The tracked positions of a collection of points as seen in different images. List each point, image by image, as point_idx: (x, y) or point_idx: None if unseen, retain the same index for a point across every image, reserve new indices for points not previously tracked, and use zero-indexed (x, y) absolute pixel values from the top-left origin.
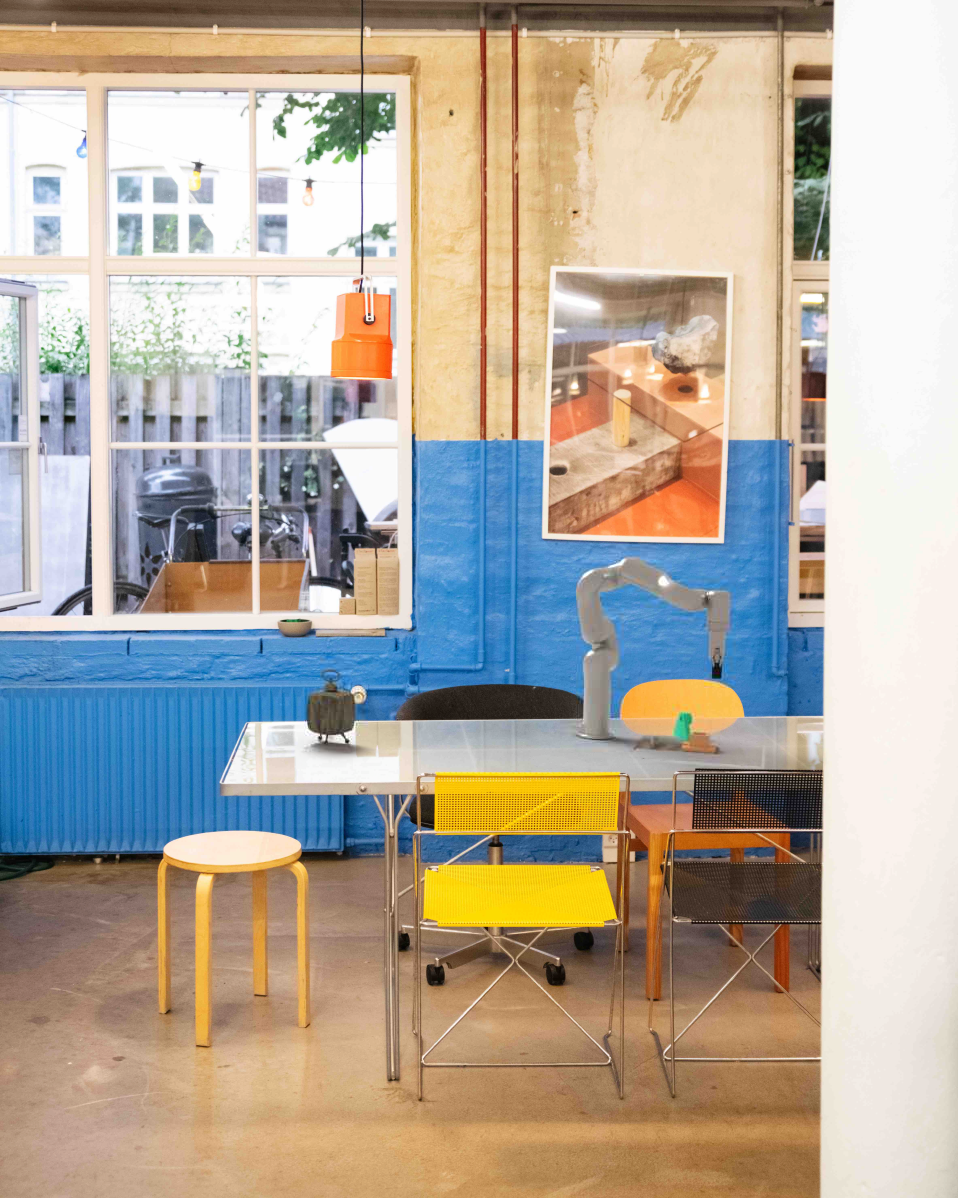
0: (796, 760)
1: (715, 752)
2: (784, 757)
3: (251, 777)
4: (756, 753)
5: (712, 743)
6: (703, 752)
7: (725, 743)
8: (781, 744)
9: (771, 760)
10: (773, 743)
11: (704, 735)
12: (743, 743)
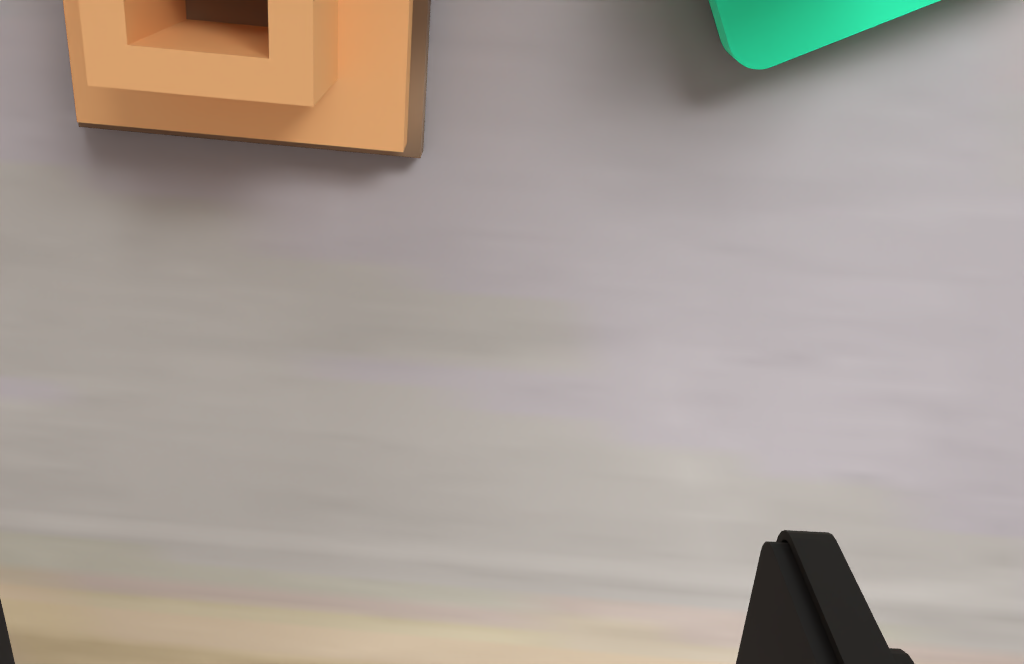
0: (229, 652)
1: None
2: (304, 599)
3: None
4: (384, 442)
5: (399, 112)
6: None
7: (770, 236)
8: None
9: (152, 515)
10: None
11: (99, 33)
12: (796, 381)
